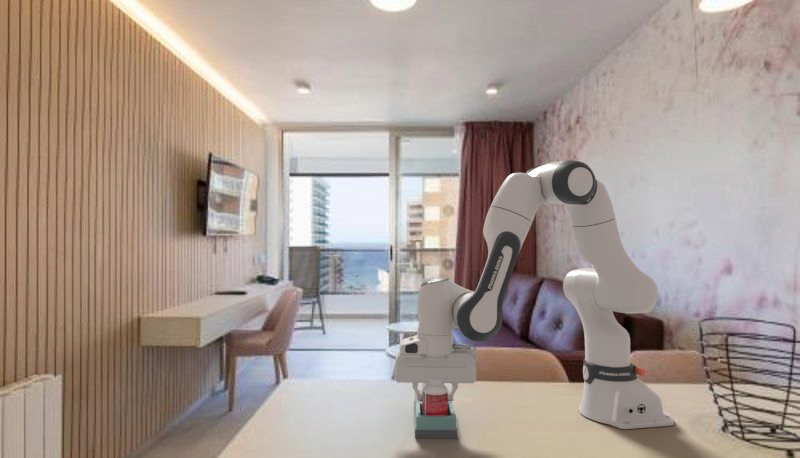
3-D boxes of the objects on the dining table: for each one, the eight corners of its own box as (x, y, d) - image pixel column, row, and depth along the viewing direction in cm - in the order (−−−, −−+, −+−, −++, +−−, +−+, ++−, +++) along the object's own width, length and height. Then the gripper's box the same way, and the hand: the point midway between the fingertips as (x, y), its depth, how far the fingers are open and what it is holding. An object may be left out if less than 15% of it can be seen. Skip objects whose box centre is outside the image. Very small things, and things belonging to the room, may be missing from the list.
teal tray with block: (449, 408, 123) (449, 365, 123) (457, 438, 105) (457, 387, 105) (413, 408, 123) (413, 364, 123) (415, 438, 105) (415, 387, 105)
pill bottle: (452, 423, 108) (452, 378, 109) (432, 429, 105) (432, 382, 105) (437, 414, 114) (437, 371, 114) (417, 420, 110) (417, 375, 110)
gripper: (475, 341, 113) (474, 396, 112) (394, 340, 113) (394, 395, 113) (479, 347, 106) (479, 405, 106) (394, 346, 107) (393, 404, 106)
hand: (434, 400), depth 109 cm, fingers closed on pill bottle, 6 cm apart
